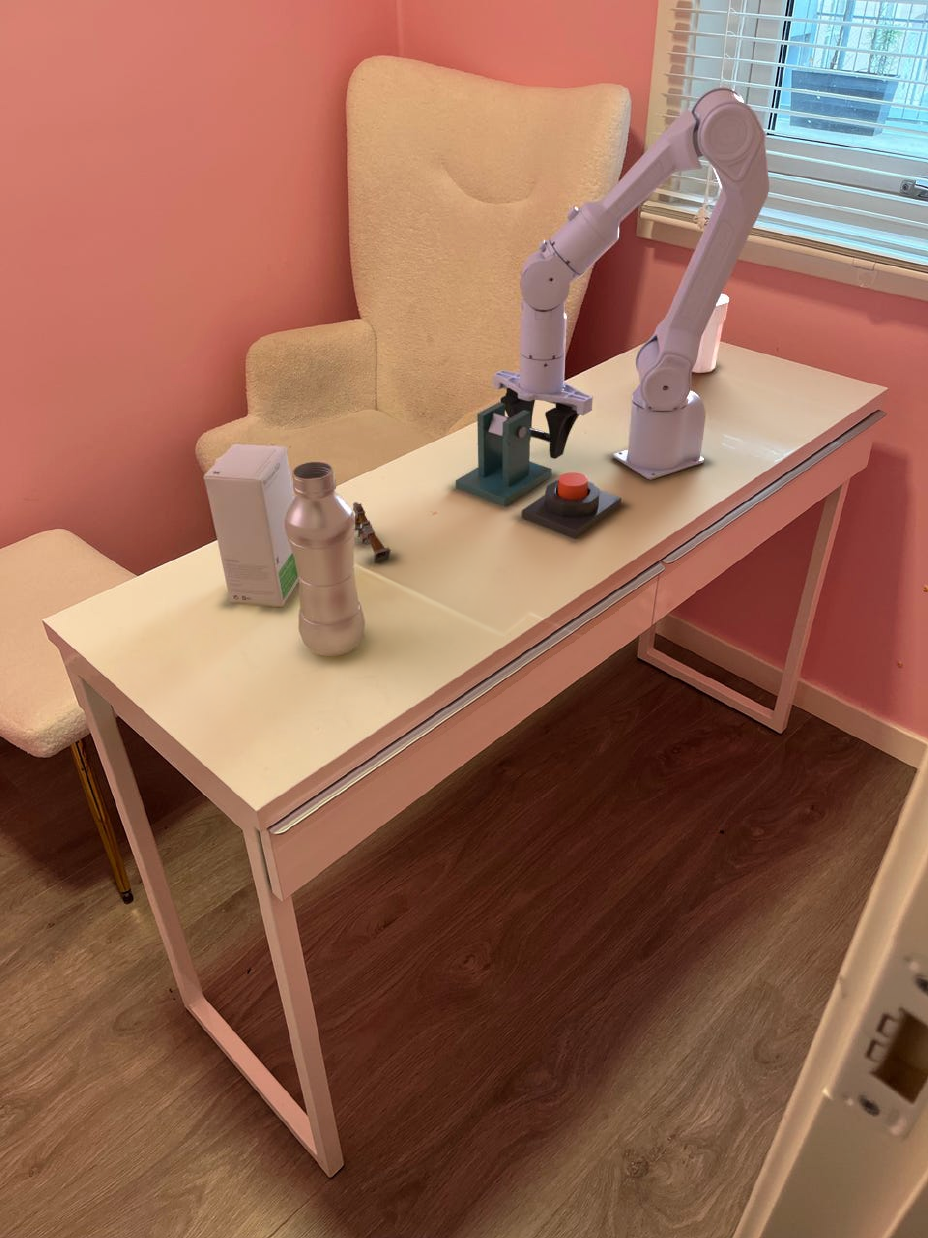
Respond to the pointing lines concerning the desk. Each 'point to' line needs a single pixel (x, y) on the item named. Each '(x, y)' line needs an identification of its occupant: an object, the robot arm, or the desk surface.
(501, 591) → the desk surface
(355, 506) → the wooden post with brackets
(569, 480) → the button
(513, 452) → the bracket
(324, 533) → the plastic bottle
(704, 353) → the cup
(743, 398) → the desk surface
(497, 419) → the lever
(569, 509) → the control block
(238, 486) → the cosmetic box
